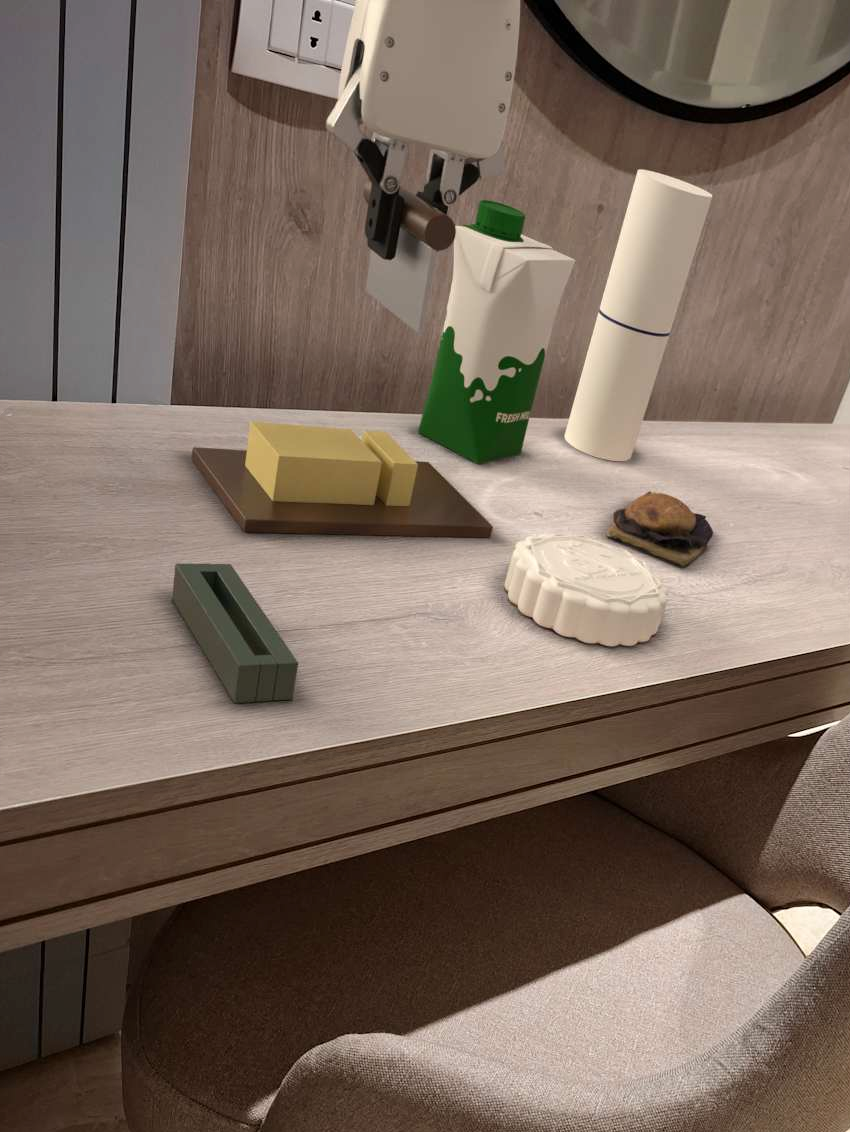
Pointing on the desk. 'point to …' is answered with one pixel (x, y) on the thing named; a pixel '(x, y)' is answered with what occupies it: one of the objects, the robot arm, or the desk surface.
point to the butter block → (312, 464)
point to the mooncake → (586, 589)
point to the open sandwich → (662, 527)
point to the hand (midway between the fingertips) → (399, 254)
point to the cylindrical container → (636, 314)
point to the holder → (234, 633)
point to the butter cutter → (410, 260)
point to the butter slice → (392, 469)
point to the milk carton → (493, 336)
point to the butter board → (340, 505)
